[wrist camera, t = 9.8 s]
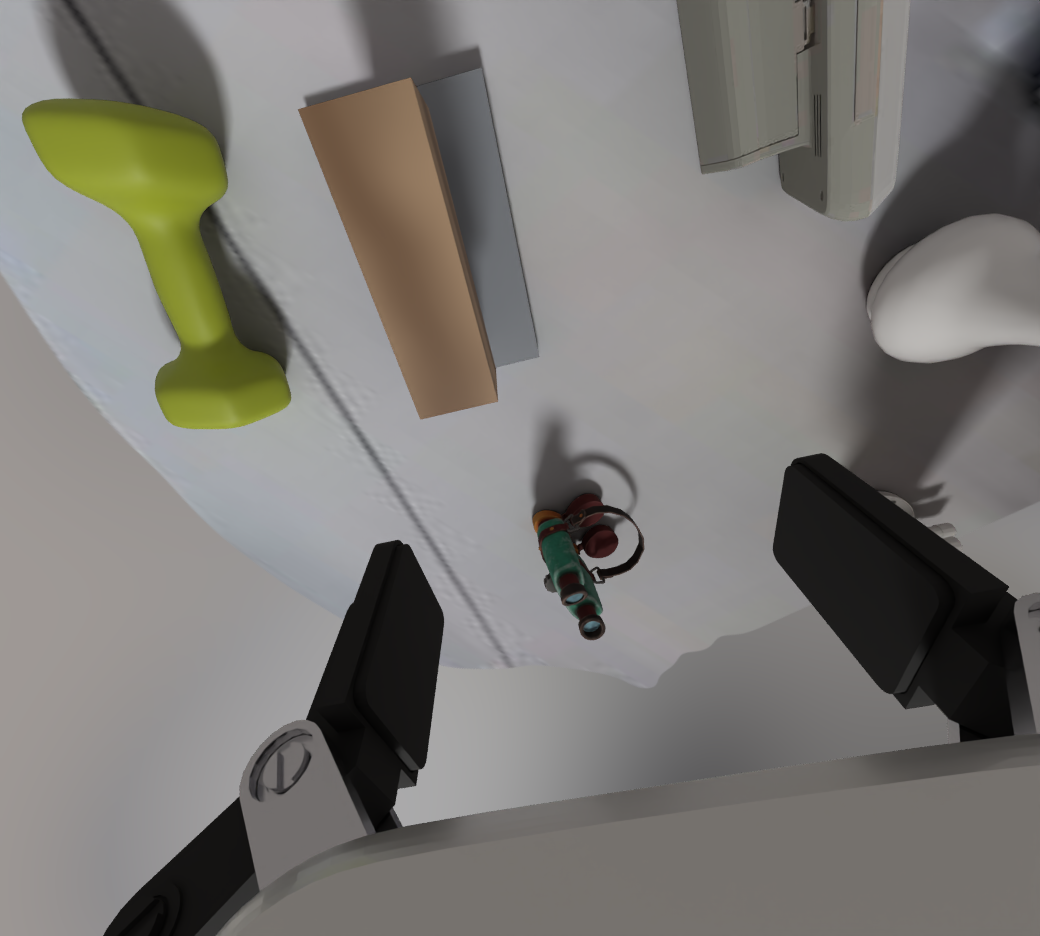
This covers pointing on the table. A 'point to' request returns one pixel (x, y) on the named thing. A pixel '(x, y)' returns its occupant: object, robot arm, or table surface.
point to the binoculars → (568, 566)
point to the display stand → (482, 211)
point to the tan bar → (407, 240)
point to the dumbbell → (165, 244)
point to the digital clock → (801, 93)
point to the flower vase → (960, 291)
